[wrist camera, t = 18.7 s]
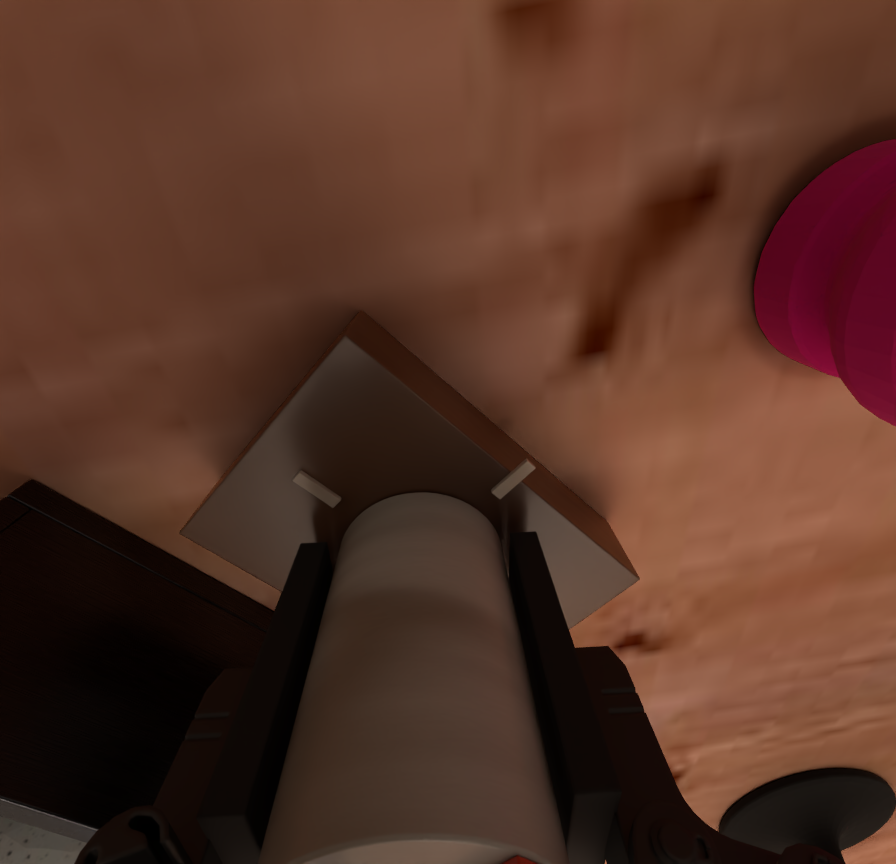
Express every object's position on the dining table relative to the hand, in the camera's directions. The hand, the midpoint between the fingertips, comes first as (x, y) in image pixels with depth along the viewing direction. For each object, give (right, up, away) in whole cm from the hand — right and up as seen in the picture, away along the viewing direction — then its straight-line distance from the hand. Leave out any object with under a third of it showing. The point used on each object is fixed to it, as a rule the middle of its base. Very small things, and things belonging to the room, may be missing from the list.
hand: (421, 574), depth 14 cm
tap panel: (0, +2, +3) cm, 4 cm away
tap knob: (0, 0, +1) cm, 1 cm away
